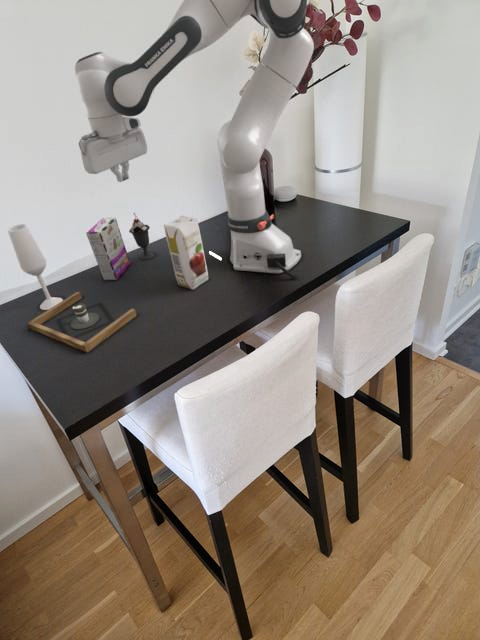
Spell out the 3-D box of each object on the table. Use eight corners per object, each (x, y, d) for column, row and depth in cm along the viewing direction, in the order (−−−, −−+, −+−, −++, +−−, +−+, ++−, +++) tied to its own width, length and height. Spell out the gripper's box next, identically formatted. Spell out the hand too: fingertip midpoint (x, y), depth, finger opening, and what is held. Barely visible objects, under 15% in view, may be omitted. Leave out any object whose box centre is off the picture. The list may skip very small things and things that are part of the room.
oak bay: (137, 315, 115) (135, 309, 114) (87, 352, 104) (84, 346, 103) (79, 297, 128) (77, 291, 127) (29, 328, 117) (26, 323, 116)
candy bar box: (117, 263, 143) (102, 217, 134) (131, 263, 142) (116, 216, 133) (102, 280, 135) (85, 232, 125) (116, 280, 133) (100, 231, 124)
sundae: (147, 250, 149) (135, 209, 140) (160, 254, 145) (149, 211, 137) (133, 259, 145) (120, 217, 136) (147, 262, 141) (134, 219, 133)
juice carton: (174, 286, 126) (159, 225, 115) (194, 273, 131) (182, 213, 120) (192, 292, 121) (178, 229, 111) (212, 278, 126) (201, 217, 116)
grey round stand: (112, 321, 114) (106, 306, 111) (67, 340, 110) (60, 324, 107) (99, 303, 123) (93, 289, 120) (57, 320, 119) (50, 305, 116)
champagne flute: (62, 295, 130) (30, 220, 117) (63, 305, 125) (29, 228, 111) (39, 301, 129) (4, 226, 115) (39, 312, 123) (2, 235, 110)
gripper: (85, 137, 103) (102, 194, 111) (144, 117, 116) (156, 169, 124) (68, 137, 106) (87, 192, 114) (128, 118, 119) (140, 168, 127)
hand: (123, 180), depth 119 cm, fingers closed
